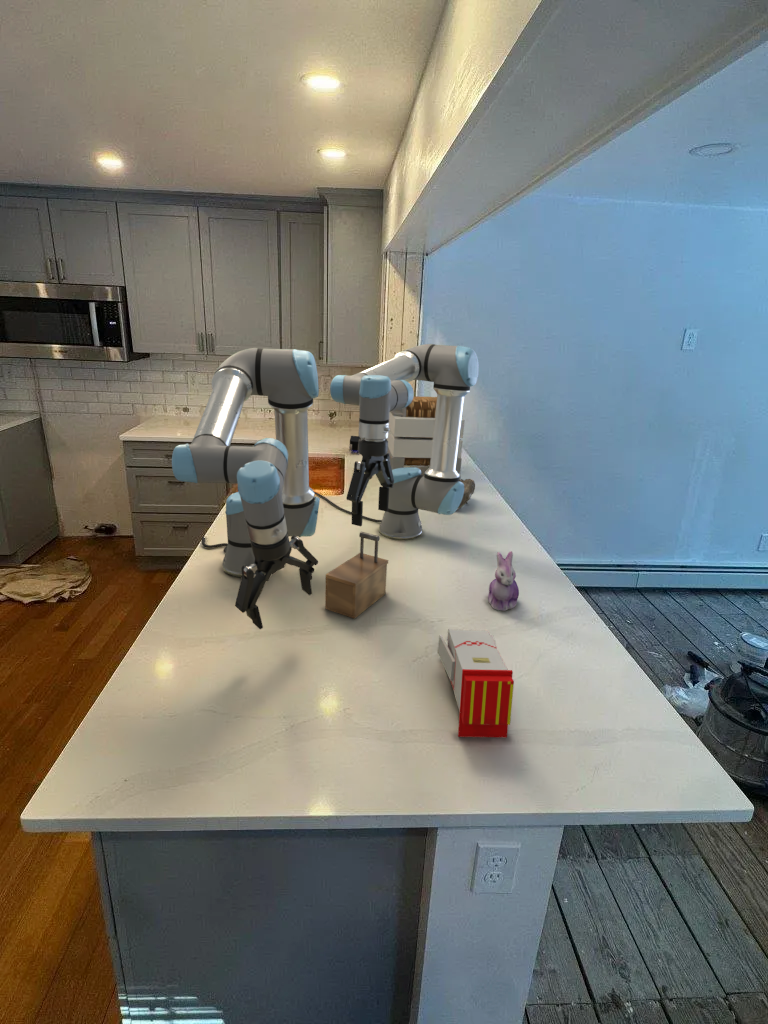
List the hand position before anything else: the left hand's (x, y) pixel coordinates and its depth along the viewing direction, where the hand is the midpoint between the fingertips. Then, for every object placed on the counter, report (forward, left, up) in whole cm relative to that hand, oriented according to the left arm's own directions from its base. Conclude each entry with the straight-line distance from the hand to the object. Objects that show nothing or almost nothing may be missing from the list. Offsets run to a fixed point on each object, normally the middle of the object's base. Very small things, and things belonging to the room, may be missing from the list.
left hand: (283, 608), depth 125 cm
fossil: (-8, +122, -11) cm, 123 cm away
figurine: (+35, +51, -11) cm, 63 cm away
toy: (+41, +10, -11) cm, 44 cm away
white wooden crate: (-41, +154, -11) cm, 160 cm away
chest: (+1, +29, -11) cm, 32 cm away
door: (+1, +30, -2) cm, 30 cm away
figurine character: (-89, +171, -11) cm, 193 cm away
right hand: (+1, +35, +11) cm, 37 cm away
